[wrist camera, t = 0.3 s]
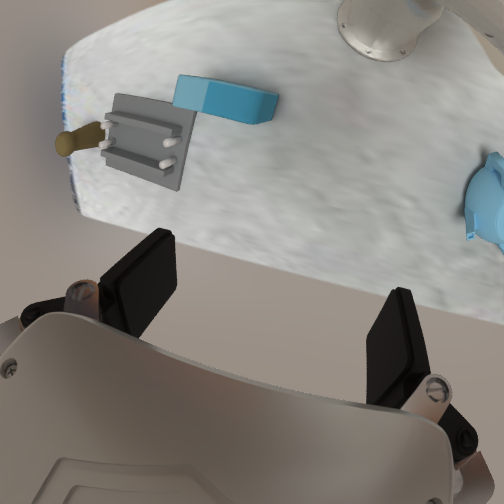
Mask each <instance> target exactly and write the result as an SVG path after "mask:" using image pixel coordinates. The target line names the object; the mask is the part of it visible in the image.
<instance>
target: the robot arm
mask: <svg viewBox="0 0 504 504" xmlns="http://www.w3.org/2000/svg"><path fill="white" fill-rule="evenodd" d="M445 8H447V9H448V10H450V11H452V12H453V13H455V14H456V15H457V16H459V17H460V18H461V19H463V20H464V21H465V22H467V23H468V24H469V25H470V26H472V27H473V28H474V29H475V30H476V31H478V32H479V33H480V34H481V35H482V36H483V37H485V38H486V39H487V40H488V41H489V42H490V43H491V44H493V45H494V46H495V47H496V48H497V49H498V50H499V51H500V52H501V53H502V54H503V55H504V0H345V1H344V2H343V3H342V4H341V6H340V8H339V10H338V14H337V24H338V28H339V31H340V33H341V35H342V37H343V39H344V40H345V41H346V42H347V43H348V45H349V46H351V47H352V48H353V49H354V50H355V51H357V52H358V53H360V54H361V55H363V56H365V57H367V58H370V59H373V60H376V61H382V62H392V61H398V60H400V59H403V58H405V57H406V56H408V55H409V54H410V53H411V52H412V51H413V49H414V48H415V45H416V42H417V35H418V34H419V33H421V32H422V31H423V30H425V29H426V28H427V27H429V26H430V25H431V24H433V23H434V22H435V21H436V20H438V19H439V18H440V16H441V15H442V14H443V11H444V9H445ZM342 26H344V27H345V28H342ZM367 52H369V53H370V54H367ZM400 52H402V53H403V55H402V54H401V53H400ZM176 287H177V272H176V253H175V236H174V235H173V234H172V232H171V231H170V230H167V229H163V228H157V229H156V230H154V231H153V232H152V233H151V234H150V235H148V236H147V237H146V238H145V239H144V240H143V241H141V242H140V243H139V244H138V245H137V246H136V247H134V248H133V249H132V250H131V251H130V252H128V253H127V254H126V255H125V256H124V257H123V258H122V259H120V260H119V261H118V262H117V263H116V264H115V265H114V266H113V267H111V268H110V269H109V270H108V271H107V272H106V273H105V274H104V275H103V276H102V277H101V278H100V282H99V283H98V284H97V283H96V282H94V281H92V280H88V279H87V280H80V281H77V282H75V283H73V284H72V285H71V286H70V287H69V288H68V289H67V292H66V296H65V297H61V298H56V299H51V300H47V301H41V302H37V303H33V304H31V305H29V306H27V307H26V308H25V309H24V310H23V312H22V314H21V317H20V318H18V316H16V317H14V318H12V319H10V320H8V321H6V322H4V323H1V324H0V504H486V503H487V502H488V501H489V499H490V498H491V497H492V495H493V492H494V488H495V484H494V480H493V478H492V475H491V473H490V471H489V469H488V466H487V464H486V462H485V460H484V458H483V456H482V454H481V451H478V452H477V451H476V449H477V446H478V435H477V432H476V431H475V429H474V428H473V427H472V426H471V425H470V424H469V422H468V421H467V420H466V419H465V418H464V417H463V416H462V415H461V414H460V413H459V412H458V411H457V410H456V409H455V408H454V407H453V406H452V405H451V404H450V401H451V399H452V389H451V386H450V384H449V383H448V381H447V380H446V379H445V378H444V377H442V376H441V375H438V374H431V371H430V366H429V361H428V356H427V351H426V346H425V341H424V337H423V333H422V329H421V326H420V322H419V318H418V314H417V311H416V307H415V303H414V300H413V296H412V293H411V290H409V289H405V288H401V287H397V288H396V289H395V290H394V289H393V290H391V292H390V294H389V296H388V298H387V300H386V302H385V304H384V306H383V308H382V310H381V311H380V313H379V315H378V317H377V319H376V321H375V322H374V324H373V326H372V328H371V330H370V331H369V333H368V335H367V339H366V353H367V396H366V398H367V399H366V404H363V403H356V402H350V401H345V400H339V399H334V398H328V397H323V396H318V395H312V394H308V393H304V392H299V391H295V390H291V389H286V388H282V387H278V386H274V385H271V384H267V383H263V382H259V381H255V380H252V379H248V378H245V377H242V376H238V375H235V374H232V373H229V372H226V371H222V370H219V369H216V368H213V367H210V366H207V365H204V364H202V363H199V362H196V361H193V360H190V359H188V358H185V357H182V356H180V355H177V354H174V353H172V352H169V351H167V350H164V349H162V348H159V347H157V346H154V345H152V344H150V343H147V342H145V341H142V340H140V339H139V337H140V336H141V335H142V333H143V332H144V330H145V329H146V328H147V327H148V325H149V324H150V322H151V321H152V320H153V319H154V317H155V316H156V315H157V313H158V312H159V311H160V310H161V308H162V307H163V306H164V304H165V303H166V301H167V300H168V299H169V298H170V296H171V295H172V294H173V293H174V291H175V290H176Z"/></svg>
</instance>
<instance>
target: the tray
mask: <svg viewBox="0 0 504 504" xmlns="http://www.w3.org/2000/svg"><path fill="white" fill-rule="evenodd" d="M196 113H197V111H193V110H188V109H183V108H178V107H175V106H173V105H172V103H168V102H163V101H158V100H153V99H148V98H143V97H137V96H131V95H125V94H119V93H117V94H115V96H114V102H113V108H112V112H110V113H105V119H106V120H110V121H107V122H103V123H101V129H107V128H109V136H108V140H105V141H101V142H99V148H104V147H107V148H106V149H103V150H101V156H103V157H106V165H107V166H109V167H112V168H115V169H118V170H120V171H123V172H126V173H129V174H131V175H134V176H137V177H139V178H142V179H145V180H147V181H150V182H153V183H155V184H158V185H161V186H163V187H166V188H168V189H171V190H174V191H176V192H177V191H179V189H180V184H181V179H182V174H183V169H184V164H185V160H186V155H187V151H188V146H189V142H190V138H191V133H192V129H193V125H194V121H195V117H196Z"/></svg>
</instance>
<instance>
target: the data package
mask: <svg viewBox="0 0 504 504" xmlns="http://www.w3.org/2000/svg"><path fill="white" fill-rule="evenodd" d="M278 97H279V94H277V93H273V92H269V91H266V90H262V89H258V88H254V87H250V86H246V85H241V84H237V83H232V82H228V81H223V80H217V79H212V78H205V77H198V76H190V75H179V76H178V80H177V84H176V88H175V93H174V98H173V102H172V105H173V106H175V107H178V108H183V109H188V110H193V111H198V112H202V113H206V114H211V115H215V116H219V117H223V118H227V119H231V120H234V121H238V122H242V123H246V124H253V125H255V124H259V123H263V122H267V121H270V120H272V117H273V113H274V110H275V107H276V104H277V100H278Z"/></svg>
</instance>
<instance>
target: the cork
mask: <svg viewBox="0 0 504 504" xmlns="http://www.w3.org/2000/svg"><path fill="white" fill-rule="evenodd" d="M104 140H105V129H101V123H100V122H97V121H96V122H92V123H90V124H88V125H85V126H83V127H81V128H79V129H77V130H74V131H72V132H69V131H65V132H62V133H60V134H59V135H58V136H57V138H56V141H55V147H56V151H57V153H58V154H59V155H60V156H63V157H65V156H69V155H70V154H72V153H73V152H74V151H77V150H82V149H88V148H94V147H99V142H101V141H104Z"/></svg>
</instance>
